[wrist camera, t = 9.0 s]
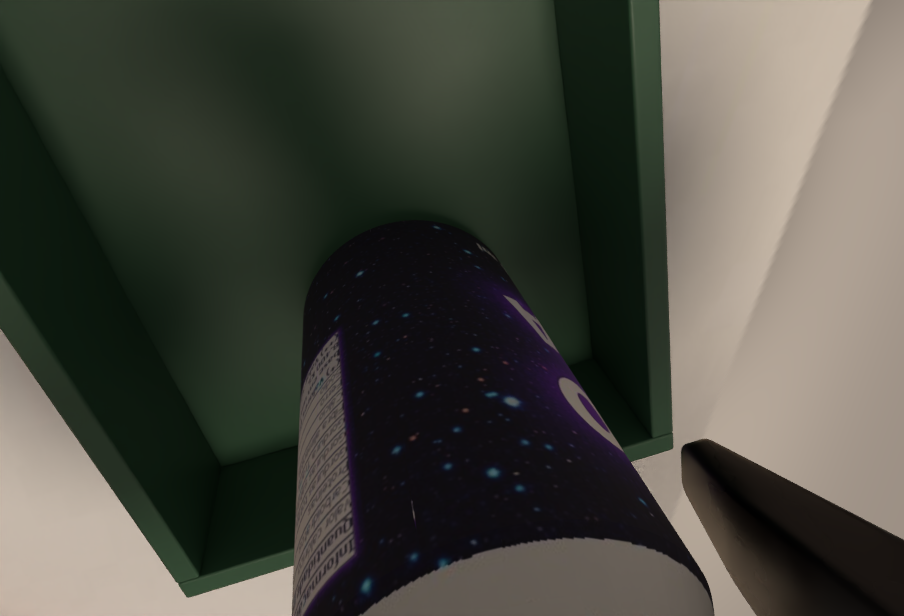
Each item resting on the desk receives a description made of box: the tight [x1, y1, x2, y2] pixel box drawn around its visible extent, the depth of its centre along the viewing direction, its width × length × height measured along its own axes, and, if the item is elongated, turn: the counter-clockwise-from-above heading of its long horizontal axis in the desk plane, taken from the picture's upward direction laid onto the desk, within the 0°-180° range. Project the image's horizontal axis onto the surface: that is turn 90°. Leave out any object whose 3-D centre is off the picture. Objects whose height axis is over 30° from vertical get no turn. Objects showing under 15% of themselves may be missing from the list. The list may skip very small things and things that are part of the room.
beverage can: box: [292, 220, 714, 616], centre depth 12 cm, size 6×6×12 cm
